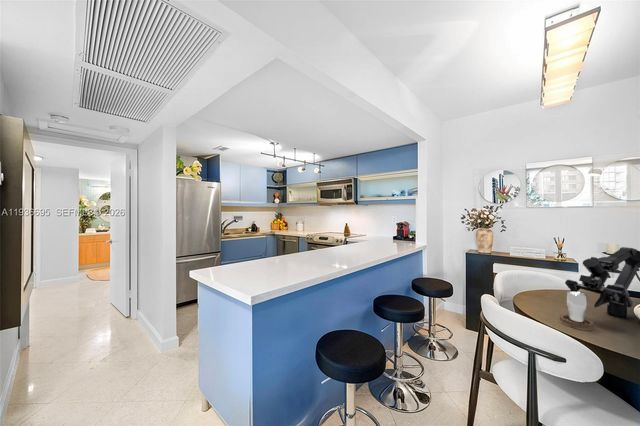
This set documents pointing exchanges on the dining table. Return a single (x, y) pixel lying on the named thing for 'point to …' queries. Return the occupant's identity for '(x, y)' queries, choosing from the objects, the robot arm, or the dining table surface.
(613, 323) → the dining table surface
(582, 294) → the beer glass
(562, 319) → the faceted bowl
